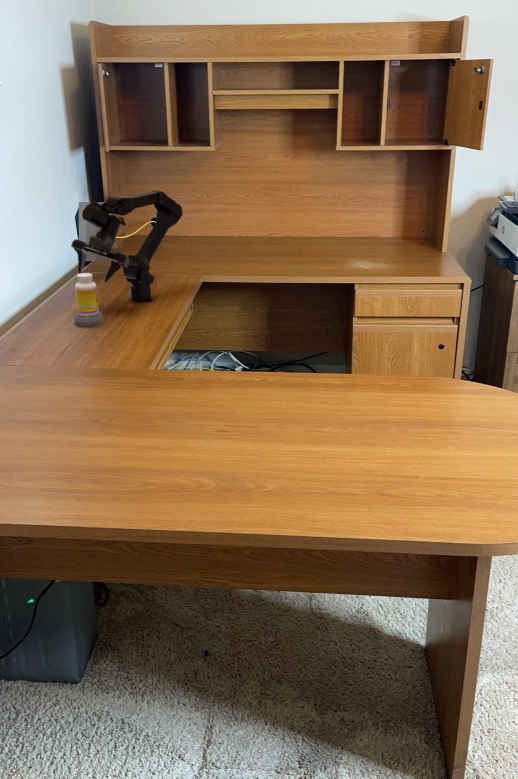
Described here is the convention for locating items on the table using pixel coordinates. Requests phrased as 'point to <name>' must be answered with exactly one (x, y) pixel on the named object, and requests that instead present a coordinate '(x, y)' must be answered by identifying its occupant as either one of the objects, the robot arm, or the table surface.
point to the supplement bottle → (86, 295)
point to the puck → (88, 320)
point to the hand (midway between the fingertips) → (92, 277)
